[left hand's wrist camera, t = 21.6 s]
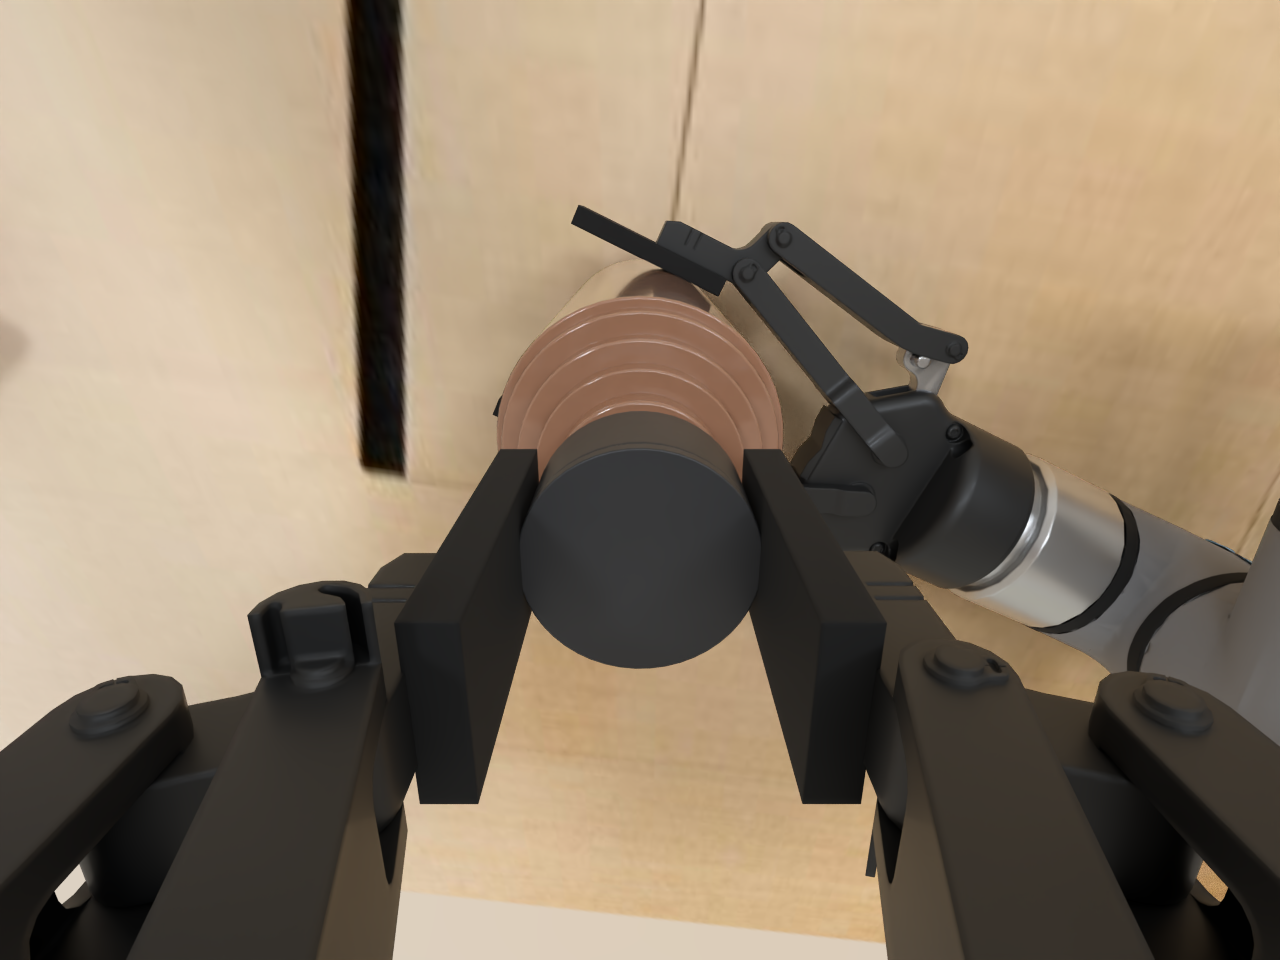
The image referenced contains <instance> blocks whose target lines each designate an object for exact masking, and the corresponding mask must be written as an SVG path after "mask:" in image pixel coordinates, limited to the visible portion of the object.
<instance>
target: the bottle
mask: <svg viewBox="0 0 1280 960" xmlns="http://www.w3.org/2000/svg"><path fill="white" fill-rule="evenodd" d="M629 411H650V412H659V413H664V414H668V415H672V416H675V417H678V418H680V419H683V420H686V421H688V422H690V423H691V424H693V425H695V426H697V427H699V428H700V429H702V430H703V431H704V432H706V433H707V434H709V435H710V436H711V437H712V438H713V439H714V440H715V441H716V442H717V443H718V444H719V445H720V446H721V447H722V448H723V449H724V451H725V452H726V453H727V454H728V456H729V458H730V459H731V461H732V463H733V464H734V466H735V468H736V471H737V473H738V475H739V478H740V480H741V483H742V468H743V450H744V449H781V451H782V447H783V419H782V412H781V406H780V402H779V398H778V395H777V391H776V388H775V386H774V383H773V381H772V379H771V377H770V374H769V372H768V370H767V369H766V367H765V365H764V364H763V362H762V361H761V359H760V357H759V356H758V354H757V353H756V352H755V351H754V350H753V348H752V347H751V346H750V345H749V344H748V342H747V341H746V340H745V339H744V338H743V337H742V335H741V334H740V333H739V332H738V331H737V330H736V329H735V328H734V326H733V325H732V324H731V323H730V322H729V321H728V320H727V319H726V317H725V316H724V315H723V314H722V313H721V312H720V311H719V310H718V308H717V307H716V306H715V305H714V304H713V303H712V302H711V301H710V299H709V298H708V297H707V296H706V295H705V294H704V293H703V292H702V290H701V289H700V288H699V287H698V286H696V285H694V284H692V283H690V282H688V281H686V280H684V279H682V278H680V277H678V276H676V275H674V274H672V273H670V272H668V271H666V270H664V269H662V268H660V267H658V266H656V265H654V264H652V263H649V262H647V261H645V260H643V259H633V260H626V261H621V262H618V263H615V264H612V265H610V266H608V267H606V268H604V269H602V270H600V271H599V272H598V273H596V274H595V275H593V276H592V277H591V278H590V279H589V280H588V281H587V282H586V283H585V284H584V285H583V286H582V287H581V288H580V289H579V290H578V292H577V293H576V294H575V295H574V296H573V297H572V298H571V299H570V301H569V302H568V303H567V304H566V305H565V306H564V307H563V309H562V310H561V311H560V312H559V313H558V314H557V315H556V316H555V318H554V319H553V320H552V321H551V322H550V323H549V324H548V325H547V327H546V328H545V329H544V330H543V331H542V332H541V333H540V334H539V336H538V337H537V338H536V339H535V340H534V341H533V342H532V344H531V345H530V346H529V347H528V349H527V350H526V351H525V352H524V354H523V355H522V356H521V357H520V359H519V361H518V362H517V364H516V366H515V367H514V369H513V371H512V372H511V375H510V377H509V379H508V382H507V384H506V386H505V389H504V392H503V395H502V399H501V403H500V407H499V413H498V421H497V446H498V452H499V450H500V449H537V454H538V472H539V481H540V479H541V476H542V474H543V471H544V469H545V467H546V465H547V463H548V461H549V460H550V458H551V457H552V455H553V454H554V453H555V451H556V450H557V448H558V447H559V446H560V445H561V444H562V443H563V442H564V441H565V440H566V439H567V438H568V437H570V436H571V435H572V434H573V433H575V432H576V431H577V430H579V429H580V428H582V427H584V426H585V425H587V424H589V423H591V422H593V421H595V420H598V419H600V418H602V417H605V416H609V415H612V414H616V413H622V412H629Z"/></svg>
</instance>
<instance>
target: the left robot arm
mask: <svg viewBox="0 0 1280 960" xmlns="http://www.w3.org/2000/svg"><path fill="white" fill-rule="evenodd" d="M538 484H539V472H538V454H537V449H500V450H499V452H498V454H497V455H496V457H495V459H494V460H493V462H492V463H491V465H490V467H489V468H488V470H487V472H486V473H485V475H484V477H483V478H482V480H481V481H480V483H479V485H478V486H477V488H476V490H475V491H474V493H473V494H472V496H471V498H470V499H469V501H468V503H467V504H466V506H465V508H464V509H463V511H462V512H461V514H460V516H459V517H458V519H457V521H456V522H455V524H454V526H453V527H452V529H451V530H450V532H449V534H448V535H447V537H446V539H445V540H444V542H443V543H442V545H441V547H440V548H439V550H438V552H437V553H404V554H402V555H401V556H399V557H397V558H396V559H394V560H393V561H391V562H389V563H388V564H386V565H385V566H383V567H381V568H380V570H379V571H378V572H377V574H376V575H375V576H374V578H373V579H372V580H371V582H370V583H369V585H368V588H365V587H363V586H362V585H361V584H356V583H352V582H347V581H320V582H314V583H309V584H303V585H298V586H296V587H293V588H290V589H287V590H284V591H281V592H278V593H276V594H274V595H273V596H271V597H269V598H267V599H265V600H264V601H262V602H260V603H259V604H258V605H257V606H256V607H255V608H254V609H253V610H252V611H251V612H250V613H249V614H248V615H247V616H248V621H249V625H250V629H251V634H252V638H253V642H254V647H255V651H256V655H257V660H258V664H259V669H260V673H261V679H260V681H259V683H258V686H257V688H256V690H255V692H252V693H248V694H244V695H240V696H236V697H231V698H225V699H220V700H215V701H210V702H205V703H200V704H195V705H190V706H188V704H187V701H186V697H185V694H184V690H183V686H182V685H181V684H180V683H179V682H178V681H176V680H175V679H174V678H173V677H169V676H163V675H157V674H148V675H138V676H126V677H121V678H117V680H109V681H106V682H103V683H100V684H98V685H96V686H95V687H93V688H91V689H89V690H86V691H84V692H82V693H79V694H77V695H75V696H73V697H72V698H70V699H69V700H67V701H66V702H64V703H62V704H61V705H59V706H58V707H56V708H55V709H53V710H52V711H50V712H49V713H48V714H47V715H45V716H44V717H43V718H42V719H40V720H39V721H38V722H37V723H35V724H34V725H33V726H32V727H30V728H29V729H28V730H27V731H26V732H24V733H23V734H22V735H21V736H19V737H18V738H17V739H16V740H14V741H13V742H12V743H11V744H9V745H8V746H7V747H6V748H4V749H3V750H2V751H1V752H0V960H392V958H393V949H394V941H395V933H396V924H397V915H398V907H399V899H400V890H401V882H402V874H403V865H404V857H405V848H406V840H407V831H408V830H407V823H406V816H405V810H404V803H403V800H404V798H405V795H406V793H407V791H408V788H409V786H410V783H411V781H412V778H413V776H414V773H416V780H417V787H418V794H419V801H420V804H478V803H479V799H480V796H481V792H482V788H483V785H484V781H485V778H486V774H487V770H488V767H489V763H490V760H491V756H492V752H493V749H494V745H495V742H496V738H497V734H498V731H499V727H500V723H501V720H502V716H503V713H504V709H505V705H506V702H507V698H508V695H509V691H510V687H511V684H512V680H513V677H514V673H515V669H516V666H517V662H518V659H519V655H520V651H521V648H522V644H523V640H524V637H525V633H526V630H527V626H528V622H529V619H530V615H531V612H532V610H531V608H530V606H529V604H528V603H527V600H526V598H525V595H524V593H523V586H522V572H521V557H520V540H519V538H520V532H521V529H522V526H523V523H524V520H525V518H526V515H527V512H528V510H529V507H530V505H531V502H532V499H533V497H534V494H535V492H536V489H537V486H538ZM742 485H743V488H744V491H745V493H746V496H747V498H748V501H749V503H750V506H751V509H752V511H753V514H754V516H755V519H756V521H757V524H758V527H759V531H760V535H761V554H760V569H759V583H758V591H757V594H756V597H755V599H754V601H753V603H752V605H751V607H750V609H749V612H750V616H751V620H752V623H753V627H754V630H755V634H756V638H757V641H758V645H759V648H760V652H761V656H762V659H763V663H764V667H765V670H766V674H767V677H768V681H769V685H770V688H771V692H772V695H773V699H774V703H775V706H776V710H777V713H778V717H779V721H780V724H781V728H782V731H783V735H784V739H785V742H786V746H787V749H788V753H789V757H790V760H791V764H792V767H793V771H794V775H795V778H796V782H797V786H798V789H799V793H800V796H801V800H802V804H861V799H862V792H863V786H864V779H865V772H866V770H867V773H868V775H869V778H870V780H871V783H872V785H873V787H874V790H875V792H876V795H877V803H876V810H875V816H874V823H873V829H872V835H871V842H870V848H869V855H868V861H867V868H866V875H865V876H870V877H875V873H876V867H877V872H878V880H879V889H880V897H881V906H882V914H883V922H884V931H885V939H886V948H887V956H888V960H1280V746H1279V745H1277V744H1276V743H1275V742H1274V741H1272V740H1271V739H1270V738H1269V737H1267V736H1266V735H1265V734H1264V733H1262V732H1261V731H1260V730H1259V729H1257V728H1256V727H1255V726H1254V725H1252V724H1251V723H1250V722H1249V721H1247V720H1246V719H1245V718H1243V717H1242V716H1241V715H1240V714H1238V713H1237V712H1236V711H1235V710H1233V709H1232V708H1231V707H1229V706H1228V705H1226V704H1225V703H1223V702H1222V701H1220V700H1219V699H1217V698H1215V697H1214V696H1212V695H1211V694H1209V693H1208V692H1205V691H1203V690H1201V689H1198V688H1196V687H1194V686H1192V685H1189V684H1188V683H1186V682H1185V681H1182V680H1179V679H1176V678H1173V677H1170V676H1169V677H1166V676H1165V675H1161V674H1156V673H1145V672H1134V671H1125V672H1119V673H1113V674H1109V675H1108V676H1107V677H1105V678H1104V679H1103V680H1102V681H1100V683H1099V687H1098V690H1097V694H1096V697H1095V701H1094V703H1092V702H1086V701H1081V700H1076V699H1071V698H1066V697H1061V696H1056V695H1050V694H1045V693H1041V692H1037V691H1033V690H1029V689H1025V688H1024V686H1023V684H1022V682H1021V680H1020V678H1019V676H1018V675H1017V674H1016V672H1015V671H1014V670H1013V669H1012V667H1011V666H1010V665H1009V664H1008V663H1007V662H1006V661H1004V660H1003V659H1001V658H1000V657H998V656H997V655H995V654H994V653H992V652H991V651H988V650H986V649H983V648H981V647H978V646H976V645H974V644H971V643H968V642H963V641H958V640H956V639H955V638H954V636H953V635H952V634H951V632H950V631H949V630H948V628H947V627H946V626H945V624H944V623H943V622H942V620H941V619H940V618H939V616H938V615H937V614H936V612H935V611H934V610H933V608H932V607H931V606H930V604H929V603H928V602H927V600H924V596H923V595H922V594H921V592H920V591H919V590H918V588H917V587H916V586H913V582H912V580H911V579H910V578H909V576H908V575H907V574H906V573H905V571H904V570H903V569H902V567H901V566H900V565H899V564H897V563H895V562H894V561H892V560H891V559H889V558H887V557H886V556H884V555H882V554H881V553H879V552H878V551H843V550H842V549H841V547H840V545H839V544H838V542H837V540H836V539H835V537H834V536H833V534H832V532H831V531H830V529H829V527H828V526H827V524H826V522H825V521H824V519H823V518H822V516H821V514H820V513H819V511H818V509H817V508H816V506H815V505H814V503H813V501H812V500H811V498H810V496H809V495H808V493H807V491H806V490H805V488H804V487H803V485H802V483H801V482H800V480H799V478H798V477H797V475H796V474H795V472H794V470H793V469H792V467H791V465H790V464H789V462H788V460H787V459H786V457H785V456H784V454H783V452H782V451H781V449H744V450H743V468H742ZM1203 860H1204V861H1205V863H1206V864H1207V865H1208V866H1209V867H1210V868H1211V869H1212V870H1213V871H1214V872H1215V874H1216V875H1217V876H1218V877H1219V878H1220V879H1221V880H1222V881H1223V882H1224V883H1225V884H1226V886H1227V887H1228V890H1227V892H1226V895H1225V897H1224V899H1223V900H1222V901H1221V902H1219V901H1218V900H1217V899H1216V898H1215V897H1213V896H1212V895H1211V894H1210V893H1209V892H1208V891H1207V890H1206V889H1205V888H1204V886H1203V885H1202V884H1201V883H1200V882H1199V881H1198V880H1197V875H1198V872H1199V870H1200V867H1201V865H1202V862H1203ZM78 864H80V867H81V869H82V872H83V875H84V877H85V880H86V881H85V882H84V884H83V885H82V886H81V887H80V888H79V889H78V890H77V892H76V893H75V894H74V895H73V896H72V897H70V898H69V899H68V900H67V901H65V902H64V903H63V904H61V903H60V902H59V901H58V899H57V897H56V894H55V892H54V891H55V890H56V889H57V888H58V886H59V885H60V884H61V883H62V882H63V881H64V880H65V879H66V878H67V877H68V875H69V874H70V873H71V872H72V871H73V870H74V869H75V868H76V867H77V865H78Z"/></svg>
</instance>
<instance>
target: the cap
mask: <svg viewBox="0 0 1280 960" xmlns="http://www.w3.org/2000/svg"><path fill="white" fill-rule="evenodd" d="M519 540H520V557H521V572H522V586H523V593H524V595H525V598H526V600H527V603H528V604H529V606H530V608H531V610H532V611H533V613H534V615H535V616H536V617H537V619H538V620H539V621H540V623H541V624H542V625H543V627H544V628H545V629H546V630H547V631H548V632H549V633H550V634H551V635H552V636H553V637H555V638H556V639H557V640H558V641H560V642H561V643H562V644H563V645H565V646H566V647H568V648H570V649H571V650H573V651H575V652H576V653H578V654H580V655H582V656H584V657H587V658H589V659H591V660H594V661H597V662H600V663H603V664H607V665H612V666H617V667H623V668H634V669H642V668H657V667H664V666H669V665H673V664H677V663H681V662H683V661H686V660H689V659H692V658H694V657H696V656H698V655H700V654H702V653H704V652H706V651H708V650H709V649H711V648H712V647H714V646H715V645H717V644H718V643H720V642H721V641H722V640H723V639H724V638H726V637H727V636H728V635H729V634H730V633H731V632H732V631H733V630H734V629H735V628H736V627H737V626H738V625H739V623H740V622H741V621H742V619H743V618H744V617H745V615H746V614H747V612H748V611H749V609H750V607H751V605H752V603H753V601H754V599H755V597H756V594H757V591H758V583H759V569H760V554H761V535H760V531H759V527H758V524H757V521H756V519H755V516H754V514H753V511H752V509H751V506H750V503H749V501H748V498H747V496H746V493H745V491H744V488H743V485H742V483H741V480H740V478H739V475H738V473H737V471H736V468H735V466H734V464H733V463H732V461H731V459H730V458H729V456H728V454H727V453H726V452H725V451H724V449H723V448H722V447H721V446H720V445H719V444H718V443H717V442H716V441H715V440H714V439H713V438H712V437H711V436H710V435H709V434H707V433H706V432H704V431H703V430H702V429H700V428H699V427H697V426H695V425H693V424H691V423H690V422H688V421H686V420H683V419H680V418H678V417H675V416H672V415H668V414H664V413H659V412H650V411H629V412H622V413H616V414H612V415H609V416H605V417H602V418H600V419H598V420H595V421H593V422H591V423H589V424H587V425H585V426H584V427H582V428H580V429H579V430H577V431H576V432H575V433H573V434H572V435H571V436H570V437H568V438H567V439H566V440H565V441H564V442H563V443H562V444H561V445H560V446H559V447H558V448H557V450H556V451H555V453H554V454H553V455H552V457H551V458H550V460H549V461H548V463H547V465H546V467H545V469H544V471H543V474H542V476H541V479H540V481H539V484H538V486H537V489H536V492H535V494H534V497H533V499H532V502H531V505H530V507H529V510H528V512H527V515H526V518H525V520H524V523H523V526H522V529H521V532H520V538H519Z"/></svg>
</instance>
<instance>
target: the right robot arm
mask: <svg viewBox="0 0 1280 960" xmlns="http://www.w3.org/2000/svg"><path fill="white" fill-rule="evenodd" d="M571 224H573V225H575V226H577V227H579V228H581V229H583V230H585V231H587V232H589V233H591V234H593V235H595V236H597V237H599V238H601V239H603V240H605V241H607V242H609V243H611V244H613V245H615V246H617V247H619V248H621V249H623V250H625V251H627V252H629V253H631V254H633V255H635V256H637V257H639V258H641V259H643V260H645V261H647V262H649V263H652V264H654V265H656V266H658V267H660V268H662V269H664V270H666V271H668V272H670V273H672V274H674V275H676V276H678V277H680V278H682V279H684V280H686V281H688V282H690V283H692V284H694V285H696V286H698V287H700V288H702V289H704V290H706V291H708V292H710V293H712V294H714V295H716V296H719V294H720V292H721V290H722V288H723V286H724V284H725V282H726V280H727V281H729V282H731V283H732V284H733V285H734V286H735V287H736V289H737V290H738V291H739V292H740V293H741V295H742V296H743V297H744V298H745V300H746V301H747V302H748V303H749V305H750V306H751V307H752V308H753V309H754V311H755V312H756V313H757V314H758V316H759V317H760V318H761V319H762V321H763V322H764V323H765V324H766V325H767V327H768V328H769V329H770V330H771V332H772V333H773V334H774V335H775V337H776V338H777V339H778V340H779V341H780V343H781V344H782V345H783V346H784V348H785V349H786V350H787V351H788V353H789V354H790V355H791V356H792V357H793V359H794V360H795V361H796V362H797V364H798V365H799V366H800V367H801V369H802V370H803V371H804V372H805V373H806V375H807V376H808V377H809V378H810V380H811V381H812V382H813V384H814V385H815V386H816V388H817V389H818V390H819V391H820V393H821V394H822V395H823V396H824V398H825V399H826V400H827V401H828V403H829V404H830V405H829V406H828V407H827V406H825V405H823V407H822V409H821V410H820V412H819V414H818V416H817V417H816V419H815V422H814V426H813V430H812V433H811V436H810V437H809V438H808V439H807V440H806V441H805V442H804V443H803V444H802V445H801V446H800V447H799V448H798V450H797V452H796V454H795V455H794V457H793V459H792V460H791V463H789V464H790V465H791V467H792V469H793V470H794V472H795V474H796V475H797V477H798V478H799V480H800V482H801V483H802V485H803V487H804V488H805V490H806V491H807V493H808V495H809V496H810V498H811V500H812V501H813V503H814V505H815V506H816V508H817V509H818V511H819V513H820V514H821V516H822V518H823V519H824V521H825V522H826V524H827V526H828V527H829V529H830V531H831V532H832V534H833V536H834V537H835V539H836V540H837V542H838V544H839V545H840V547H841V549H842V550H843V551H878V552H879V553H881V554H882V555H884V556H886V557H887V558H889V559H891V560H892V561H894V562H895V563H897V564H899V565H900V566H901V567H902V569H903V570H904V571H905V572H906V573H908V574H911V575H913V576H915V577H917V578H920V579H922V580H924V581H926V582H929V583H931V584H933V585H935V586H938V587H940V588H945V589H949V590H950V591H951V592H952V593H954V594H956V595H957V596H959V597H961V598H963V599H966V600H968V601H970V602H973V603H975V604H977V605H980V606H982V607H984V608H987V609H989V610H991V611H994V612H996V613H998V614H1001V615H1003V616H1005V617H1008V618H1010V619H1012V620H1015V621H1017V622H1020V623H1022V624H1024V625H1026V626H1028V627H1030V628H1032V629H1034V630H1036V631H1039V632H1041V633H1044V634H1046V635H1048V636H1050V637H1052V638H1054V639H1056V640H1058V641H1061V642H1063V643H1065V644H1067V645H1069V646H1071V647H1073V648H1075V649H1078V650H1080V651H1082V652H1083V653H1085V654H1087V655H1089V656H1090V657H1092V658H1093V659H1095V660H1096V661H1097V662H1099V663H1100V664H1101V665H1102V666H1104V667H1105V668H1106V669H1107V670H1108V671H1109V672H1110V673H1111V674H1113V673H1119V672H1125V671H1134V672H1145V673H1156V674H1161V675H1165V676H1166V677H1169V676H1170V677H1173V678H1176V679H1179V680H1182V681H1185V682H1186V683H1188V684H1189V685H1192V686H1194V687H1196V688H1198V689H1201V690H1203V691H1205V692H1208V693H1209V694H1211V695H1212V696H1214V697H1215V698H1217V699H1219V700H1220V701H1222V702H1223V703H1225V704H1226V705H1228V706H1229V707H1231V708H1232V709H1233V710H1235V711H1236V712H1237V713H1238V714H1240V715H1241V716H1242V717H1243V718H1245V719H1246V720H1247V721H1249V722H1250V723H1251V724H1252V725H1254V726H1255V727H1256V728H1257V729H1259V730H1260V731H1261V732H1262V733H1264V734H1265V735H1266V736H1267V737H1269V738H1270V739H1271V740H1272V741H1274V742H1275V743H1276V744H1277V745H1279V746H1280V499H1279V501H1278V503H1277V506H1276V508H1275V511H1274V513H1273V515H1272V516H1271V518H1270V521H1269V523H1268V525H1267V528H1266V530H1265V533H1264V535H1263V538H1262V540H1261V542H1260V545H1259V547H1258V550H1257V552H1256V554H1255V557H1254V559H1253V562H1252V561H1250V560H1247V559H1245V558H1243V557H1242V556H1240V555H1238V554H1236V553H1235V552H1234V551H1233V550H1231V549H1230V548H1228V547H1225V546H1223V545H1220V544H1218V543H1216V542H1214V541H1211V540H1208V539H1205V540H1204V539H1202V538H1200V537H1198V536H1196V535H1194V534H1192V533H1190V532H1188V531H1186V530H1184V529H1182V528H1180V527H1178V526H1176V525H1174V524H1171V523H1169V522H1167V521H1165V520H1163V519H1161V518H1158V517H1156V516H1154V515H1152V514H1150V513H1148V512H1145V511H1143V510H1141V509H1139V508H1137V507H1135V506H1132V505H1130V504H1128V503H1126V502H1124V501H1122V500H1120V499H1118V498H1117V497H1115V496H1113V495H1112V494H1110V493H1108V492H1107V491H1105V490H1103V489H1101V488H1099V487H1097V486H1095V485H1093V484H1091V483H1089V482H1087V481H1085V480H1083V479H1081V478H1079V477H1077V476H1075V475H1073V474H1071V473H1069V472H1067V471H1065V470H1063V469H1061V468H1059V467H1057V466H1055V465H1053V464H1051V463H1049V462H1047V461H1045V460H1043V459H1041V458H1039V457H1036V456H1033V455H1031V454H1025V453H1024V452H1023V451H1022V450H1021V449H1019V448H1018V447H1017V446H1015V445H1013V444H1010V443H1008V442H1006V441H1004V440H1002V439H1000V438H998V437H996V436H994V435H992V434H990V433H988V432H986V431H984V430H982V429H980V428H978V427H976V426H974V425H972V424H970V423H968V422H966V421H964V420H962V419H960V418H958V417H956V416H954V415H952V414H950V413H949V412H948V410H947V409H946V408H945V406H944V404H943V402H942V401H941V399H940V398H939V397H938V396H937V394H938V391H939V389H940V387H941V384H942V382H943V379H944V377H945V375H946V372H947V370H948V368H949V365H950V364H955V363H958V362H960V361H961V360H962V359H964V357H965V356H966V354H967V352H968V343H967V341H966V340H965V338H963V337H961V336H959V335H956V334H954V333H951V332H948V331H945V330H942V329H940V328H937V327H933V326H930V325H926V324H922V323H919V322H917V321H916V320H915V319H913V318H912V317H911V316H910V315H908V314H907V313H906V312H904V311H903V310H902V309H901V308H899V307H898V306H897V305H895V304H894V303H893V302H892V301H890V300H889V299H888V298H886V297H885V296H884V295H883V294H881V293H880V292H879V291H878V290H876V289H875V288H874V287H872V286H871V285H870V284H869V283H867V282H866V281H865V280H863V279H862V278H861V277H860V276H858V275H857V274H856V273H854V272H853V271H852V270H851V269H849V268H848V267H847V266H845V265H844V264H843V263H842V262H840V261H839V260H838V259H836V258H835V257H834V256H833V255H831V254H830V253H829V252H827V251H826V250H825V249H824V248H822V247H821V246H820V245H818V244H817V243H816V242H815V241H813V240H812V239H811V238H809V237H808V236H807V235H806V234H804V233H803V232H802V231H800V230H799V229H798V228H797V227H795V226H794V225H792V224H790V223H788V222H771V223H768V224H766V225H765V226H764V227H763V228H762V229H761V231H760V232H759V233H758V234H757V235H756V236H755V237H754V238H753V239H752V240H751V241H750V242H749V243H748V244H747V245H746V246H744V247H741V248H737V249H736V248H731V247H729V246H727V245H725V244H723V243H721V242H719V241H717V240H715V239H713V238H711V237H709V236H707V235H705V234H704V233H702V232H700V231H698V230H696V229H694V228H692V227H690V226H688V225H686V224H684V223H682V222H677V221H665V224H664V226H663V228H662V230H661V232H660V234H659V237H658V239H657V241H656V242H654V241H652V240H650V239H648V238H646V237H644V236H642V235H640V234H638V233H636V232H634V231H632V230H630V229H628V228H626V227H624V226H622V225H620V224H618V223H616V222H614V221H612V220H610V219H608V218H606V217H604V216H602V215H600V214H598V213H596V212H594V211H592V210H590V209H588V208H586V207H584V206H581V205H578V208H577V210H576V213H575V215H574V217H573V220H572V222H571ZM778 261H780V262H782V263H783V264H784V265H786V266H787V267H788V268H790V269H791V270H792V271H794V272H795V273H796V274H798V275H799V276H800V277H801V278H803V279H804V280H805V281H807V282H808V283H809V284H811V285H812V286H813V287H815V288H816V289H817V290H819V291H820V292H821V293H822V294H824V295H825V296H826V297H828V298H829V299H830V300H832V301H833V302H834V303H836V304H837V305H838V306H840V307H841V308H842V309H844V310H845V311H846V312H847V313H849V314H850V315H851V316H853V317H854V318H855V319H857V320H858V321H859V322H861V323H862V324H863V325H865V326H866V327H867V328H868V329H870V330H871V331H872V332H874V333H875V334H876V335H878V336H879V337H881V338H882V339H884V340H886V341H888V342H890V343H892V344H894V345H896V346H898V347H899V348H898V351H897V354H896V360H897V362H898V364H899V365H900V366H901V367H903V368H905V369H906V370H907V371H908V372H909V375H910V383H909V385H904V386H899V387H893V388H888V389H882V390H877V391H871V392H866V393H863V392H862V391H861V389H860V388H859V387H858V386H857V385H856V383H855V382H854V381H853V380H852V379H851V378H850V377H849V376H848V375H847V373H846V372H845V371H844V370H843V368H842V367H841V366H840V365H839V363H838V362H837V361H836V359H835V358H834V357H833V356H832V354H831V353H830V352H829V351H828V349H827V348H826V347H825V346H824V344H823V343H822V342H821V341H820V339H819V338H818V337H817V335H816V334H815V333H814V332H813V330H812V329H811V328H810V327H809V325H808V324H807V323H806V322H805V320H804V319H803V318H802V316H801V315H800V314H799V313H798V311H797V310H796V309H795V308H794V306H793V305H792V304H791V303H790V301H789V300H788V299H787V298H786V296H785V295H784V294H783V292H782V291H781V290H780V289H779V287H778V286H777V285H776V284H775V282H774V281H773V280H772V279H771V277H770V276H769V275H768V274H767V272H768V271H769V270H770V269H771V268H772V267H773V266H774V265H775V264H776V263H777V262H778ZM501 399H502V396H501V397H500V399H499V400H498V403H497V405H496V408H495V410H494V413H493V415H495V416H497V417H498V413H499V407H500V403H501Z"/></svg>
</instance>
